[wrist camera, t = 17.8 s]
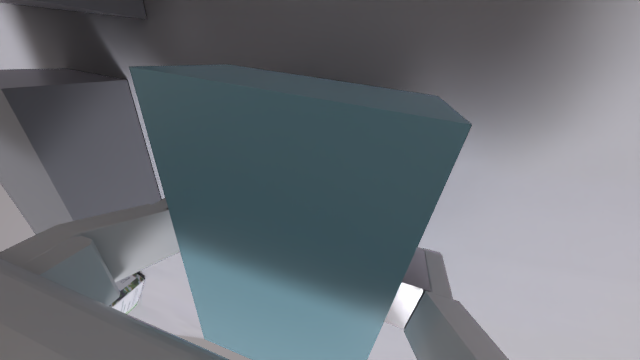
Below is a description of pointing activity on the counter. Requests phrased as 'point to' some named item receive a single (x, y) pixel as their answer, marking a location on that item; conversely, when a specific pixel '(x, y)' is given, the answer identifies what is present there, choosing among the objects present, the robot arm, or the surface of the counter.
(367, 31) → the counter surface
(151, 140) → the cover
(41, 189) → the block
